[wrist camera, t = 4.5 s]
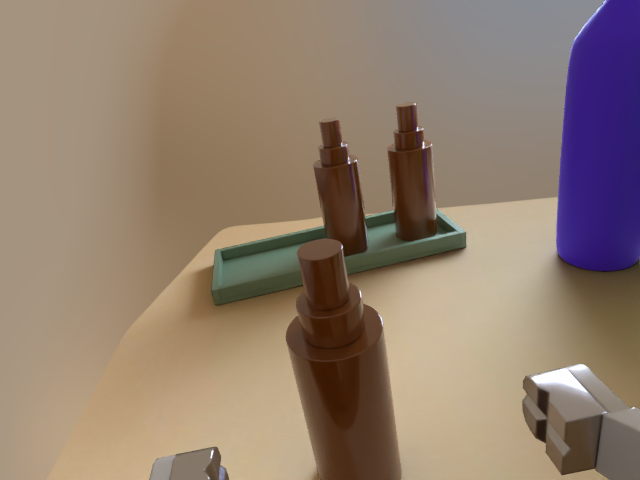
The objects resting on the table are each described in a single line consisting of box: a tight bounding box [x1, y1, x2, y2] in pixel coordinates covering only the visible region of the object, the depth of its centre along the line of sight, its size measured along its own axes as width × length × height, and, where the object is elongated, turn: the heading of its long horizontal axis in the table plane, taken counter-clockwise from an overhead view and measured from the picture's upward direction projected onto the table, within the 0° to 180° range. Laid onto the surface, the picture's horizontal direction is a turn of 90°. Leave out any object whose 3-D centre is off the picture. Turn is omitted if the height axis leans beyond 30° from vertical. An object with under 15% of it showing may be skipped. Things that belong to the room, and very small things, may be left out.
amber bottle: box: [286, 239, 401, 480], centre depth 26 cm, size 6×6×17 cm
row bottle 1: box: [313, 118, 369, 257], centre depth 56 cm, size 6×6×17 cm
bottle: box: [556, 0, 640, 271], centre depth 43 cm, size 8×8×30 cm
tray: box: [211, 209, 466, 305], centre depth 59 cm, size 32×12×2 cm, turn 100°
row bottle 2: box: [387, 103, 437, 242], centre depth 57 cm, size 6×6×17 cm
